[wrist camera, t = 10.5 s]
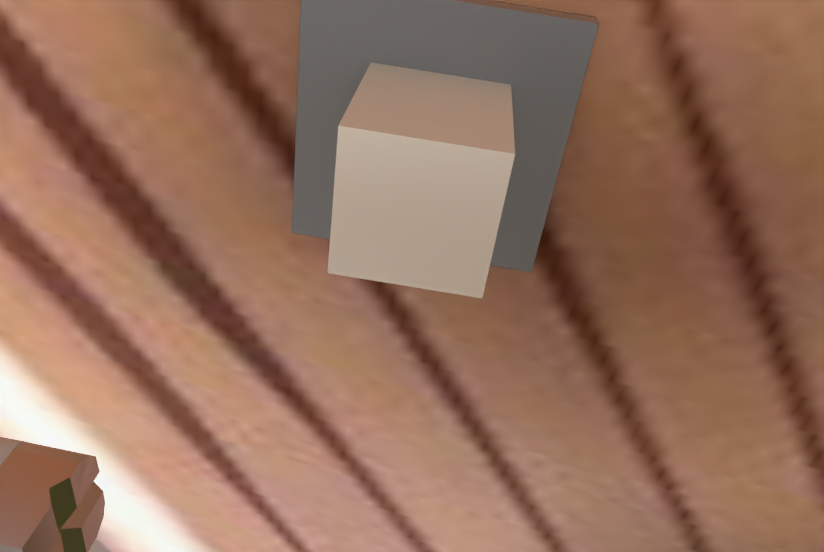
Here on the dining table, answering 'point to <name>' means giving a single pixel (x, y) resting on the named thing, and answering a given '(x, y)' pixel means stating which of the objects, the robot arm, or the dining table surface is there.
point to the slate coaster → (453, 55)
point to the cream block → (421, 179)
